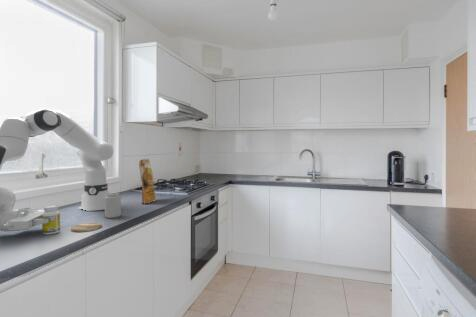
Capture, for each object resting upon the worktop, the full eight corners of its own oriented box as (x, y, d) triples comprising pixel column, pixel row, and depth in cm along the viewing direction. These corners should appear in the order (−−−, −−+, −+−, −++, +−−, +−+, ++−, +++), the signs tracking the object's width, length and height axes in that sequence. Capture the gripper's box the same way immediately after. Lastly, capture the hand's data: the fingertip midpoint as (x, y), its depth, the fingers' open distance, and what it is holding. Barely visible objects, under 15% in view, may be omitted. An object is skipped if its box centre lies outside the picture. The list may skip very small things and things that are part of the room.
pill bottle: (52, 230, 119) (52, 204, 118) (63, 231, 117) (63, 205, 116) (38, 234, 113) (37, 207, 112) (50, 235, 111) (49, 208, 111)
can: (118, 218, 138) (118, 194, 138) (102, 219, 137) (102, 195, 137) (122, 214, 146) (122, 192, 145) (107, 215, 144) (106, 192, 144)
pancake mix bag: (136, 205, 171) (135, 159, 170) (149, 199, 190) (148, 158, 189) (146, 205, 170) (145, 159, 169) (158, 199, 189) (158, 158, 188)
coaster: (77, 225, 127) (77, 223, 126) (105, 223, 129) (105, 221, 129) (66, 232, 115) (66, 231, 115) (97, 231, 117) (97, 229, 117)
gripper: (-2, 218, 102) (39, 216, 104) (29, 207, 122) (64, 205, 124) (-1, 235, 102) (40, 233, 105) (30, 221, 122) (64, 219, 125)
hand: (53, 218), depth 115 cm, fingers closed on pill bottle, 6 cm apart
